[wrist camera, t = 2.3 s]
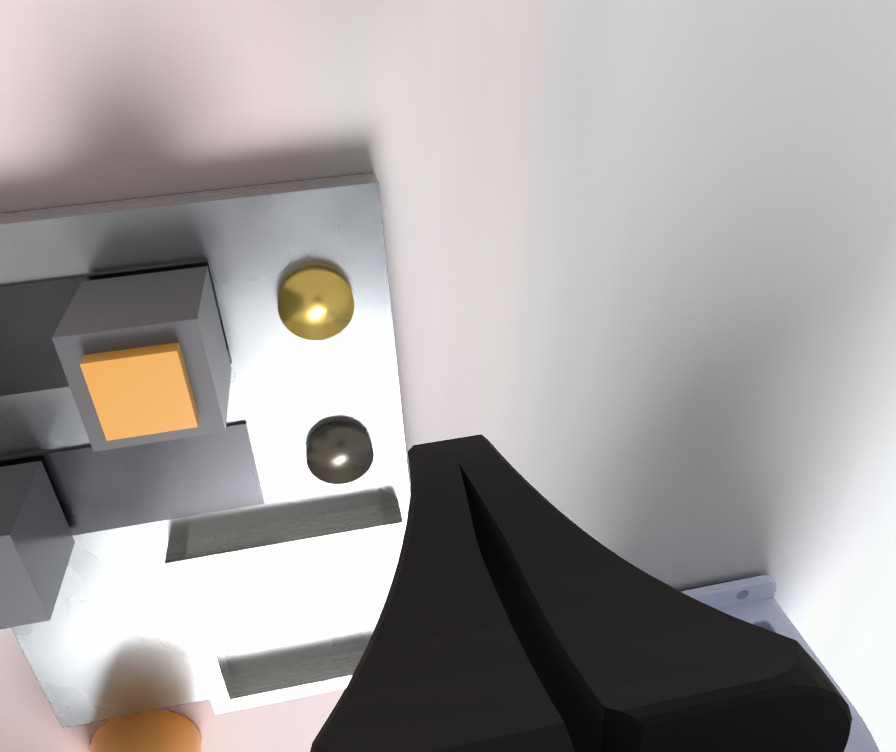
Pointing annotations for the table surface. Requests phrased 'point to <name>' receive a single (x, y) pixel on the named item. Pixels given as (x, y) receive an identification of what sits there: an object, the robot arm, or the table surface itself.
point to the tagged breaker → (146, 358)
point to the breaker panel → (216, 452)
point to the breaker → (30, 545)
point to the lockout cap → (147, 733)
